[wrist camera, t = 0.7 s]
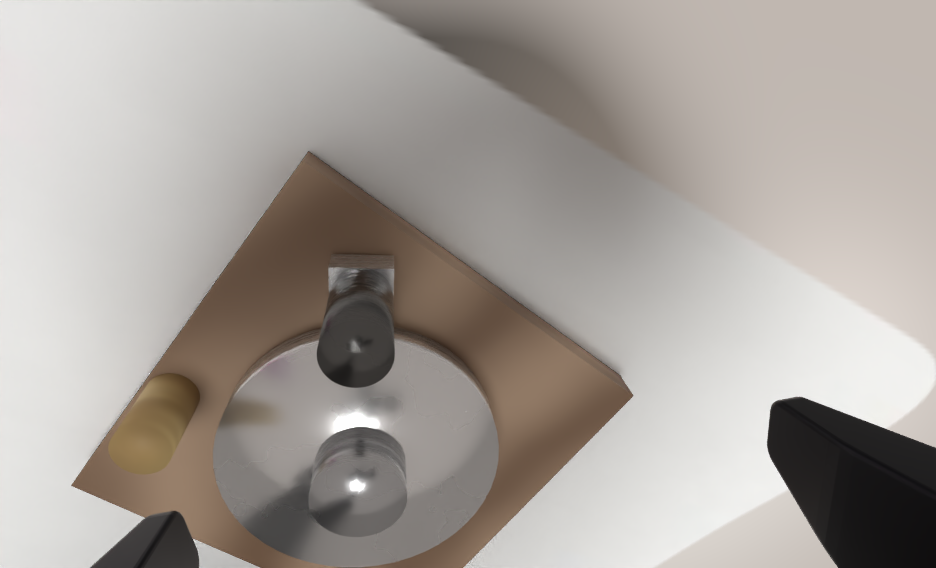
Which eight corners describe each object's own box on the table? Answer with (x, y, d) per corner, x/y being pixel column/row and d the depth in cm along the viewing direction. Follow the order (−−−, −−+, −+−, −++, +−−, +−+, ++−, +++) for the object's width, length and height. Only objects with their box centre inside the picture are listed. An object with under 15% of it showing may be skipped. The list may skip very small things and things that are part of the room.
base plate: (619, 375, 25) (666, 444, 21) (401, 599, 28) (404, 696, 24) (308, 151, 20) (287, 184, 16) (89, 458, 23) (25, 551, 19)
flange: (482, 537, 25) (502, 645, 21) (232, 548, 24) (198, 666, 19) (512, 258, 20) (547, 322, 16) (201, 250, 19) (145, 318, 14)
